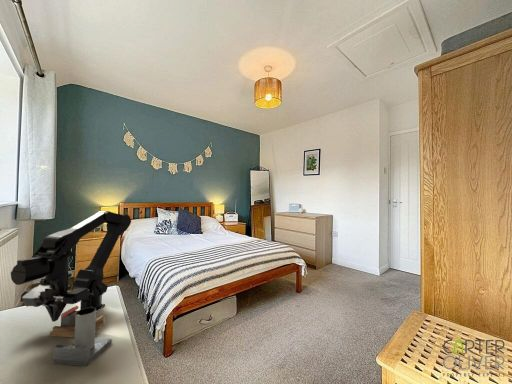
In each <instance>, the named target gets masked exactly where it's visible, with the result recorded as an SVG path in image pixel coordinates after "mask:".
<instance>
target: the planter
mask: <svg viewBox="0 0 512 384" xmlns="http://www.w3.org/2000/svg"><path fill="white" fill-rule="evenodd" d="M76 311H77V312H76V317H75V337H74V343H73V344H74V346H86V347H90V349H92V348H93V347H94V345H95V338H96V331H95V324H96V319H97V318H96V317H97V312H96V308H95V307H87V308H83V309H81V310H80V309H79V310H76Z"/></svg>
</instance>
